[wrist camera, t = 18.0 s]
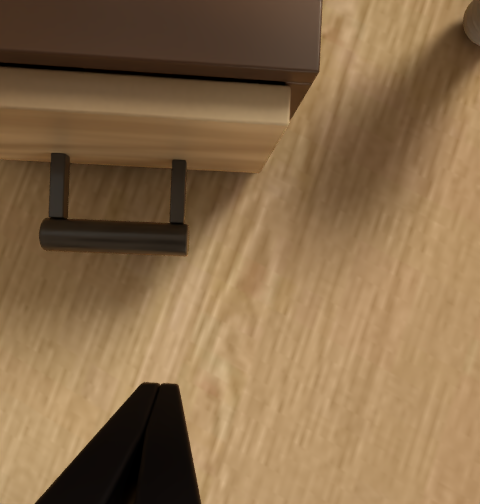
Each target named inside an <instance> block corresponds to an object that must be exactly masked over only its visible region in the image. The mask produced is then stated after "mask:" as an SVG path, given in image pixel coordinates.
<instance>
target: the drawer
mask: <svg viewBox="0 0 480 504" xmlns="http://www.w3.org/2000/svg"><path fill="white" fill-rule="evenodd" d="M257 83H258V80H255V79H240V78H226V77H211V76H196V75H181V74H172V75H171V76H169V77H168V78H166V77H151V76H137V75H122V74H107V73H92V72H86V71H85V69H84V68H78V67H64V66H49V65H34V64H19V63H5V62H0V159H3V160H22V161H40V162H51V168H50V196H49V217H50V218H45V219H44V220H43V221H42V223H41V226H40V231H39V239H40V244H41V247H42V248H43V249H44V250H46V251H63V252H88V253H113V254H138V255H163V256H187V255H188V250H189V225H188V224H184V223H185V203H186V178H187V169H190V170H209V171H228V172H246V173H260V171H261V170H262V168H263V166H264V165H265V163H266V162H267V160H268V158H269V157H270V155H271V153H272V152H273V150H274V148H275V147H276V145H277V143H278V142H279V140H280V139H281V137H282V135H283V134H284V132H285V130H286V129H287V127H288V125H289V120H290V97H291V88H290V86H285V85H270V84H257ZM70 163H78V164H96V165H115V166H134V167H153V168H171V169H172V175H171V201H170V223H153V222H131V221H109V220H87V219H67V218H68V197H69V169H70Z"/></svg>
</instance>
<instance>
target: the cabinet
mask: <svg viewBox="0 0 480 504" xmlns="http://www.w3.org/2000/svg"><path fill="white" fill-rule="evenodd" d="M321 21H322V0H0V62H5V63H19V64H34V65H49V66H64V67H78V68H93V69H108V70H123V71H137V72H152V73H167V74H181V75H196V76H211V77H226V78H240V79H255V80H258V83H257V84H270V85H285V86H290V88H291V97H290V120H291V118H292V117H293V115H294V113H295V112H296V110H297V108H298V106H299V105H300V103H301V101H302V100H303V98H304V96H305V95H306V93H307V91H308V90H309V88H310V86H311V85H312V83H313V81H314V80H315V78H316V76H317V74H318V73H319V66H320V44H321ZM290 120H289V122H290Z"/></svg>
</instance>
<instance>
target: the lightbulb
mask: <svg viewBox="0 0 480 504" xmlns="http://www.w3.org/2000/svg"><path fill="white" fill-rule="evenodd" d="M463 24H464V30H465V33H466V35H467V36H468V38H469V39H470V40H471V41H472V42H474V43H475V44H477V45H480V0H473V1H472V2H471V4H470V5H469V6H468V7H467V9H466V11H465V14H464V18H463Z"/></svg>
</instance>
